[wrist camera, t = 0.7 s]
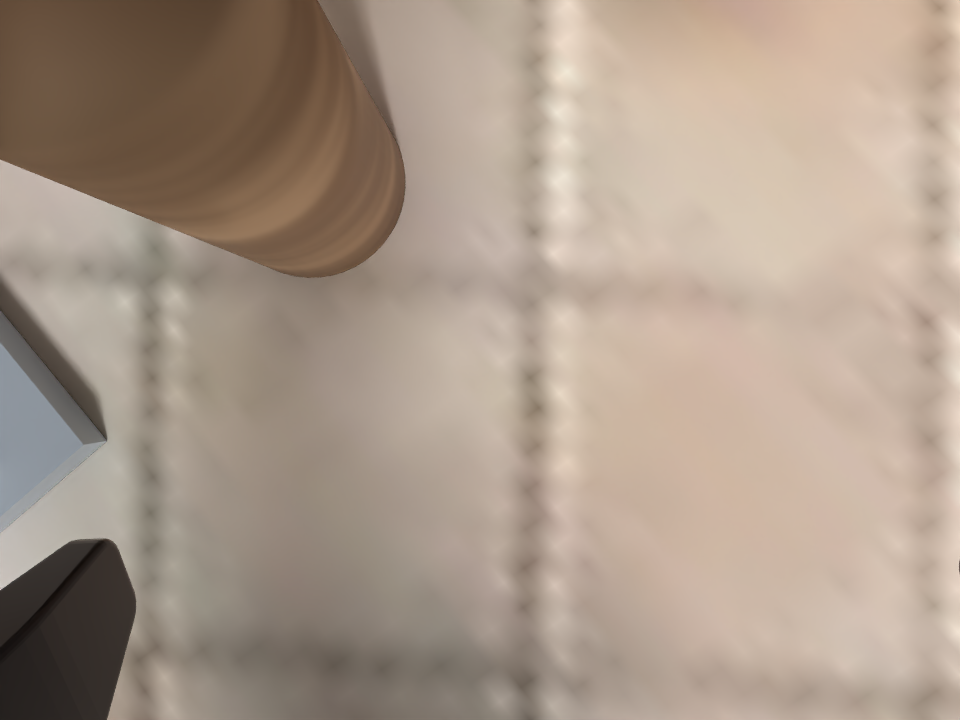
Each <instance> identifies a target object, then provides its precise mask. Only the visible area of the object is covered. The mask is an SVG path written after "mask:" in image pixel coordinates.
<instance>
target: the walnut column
mask: <svg viewBox="0 0 960 720" xmlns="http://www.w3.org/2000/svg"><path fill="white" fill-rule="evenodd" d="M0 159H1V160H3V161H6V162H8V163H10V164H13V165H15V166H18V167H20V168H23V169H25V170H28V171H30V172H33V173H35V174H38V175H40V176H43V177H45V178H48V179H50V180H53V181H55V182H58V183H60V184H63V185H65V186H68V187H70V188H73V189H75V190H78V191H80V192H83V193H85V194H88V195H90V196H93V197H95V198H97V199H100V200H102V201H105V202H107V203H110V204H112V205H115V206H117V207H120V208H122V209H125V210H127V211H130V212H132V213H135V214H137V215H140V216H142V217H145V218H147V219H150V220H152V221H155V222H157V223H160V224H162V225H165V226H167V227H170V228H172V229H175V230H177V231H180V232H182V233H184V234H187V235H189V236H192V237H194V238H197V239H199V240H202V241H204V242H207V243H209V244H212V245H214V246H217V247H219V248H222V249H224V250H227V251H229V252H232V253H234V254H237V255H239V256H242V257H244V258H247V259H249V260H252V261H254V262H257V263H259V264H262V265H264V266H267V267H269V268H272V269H274V270H277V271H279V272H282V273H284V274H288V275H293V276H298V277H307V278H311V277H325V276H331V275H335V274H338V273H342V272H345V271H347V270H349V269H351V268H354V267H355V266H357V265H359V264H360V263H362V262H364V261H365V260H367V259H368V258H369V257H370V256H371V255H373V254H374V253H375V252H376V251H377V250H378V249H379V248H380V247H381V246H382V245H383V244H384V242H385V241H386V240H387V238H388V237H389V235H390V234H391V232H392V230H393V229H394V227H395V225H396V223H397V221H398V218H399V215H400V213H401V210H402V206H403V202H404V195H405V171H404V164H403V160H402V157H401V153H400V150H399V148H398V146H397V143H396V141H395V139H394V137H393V135H392V134H391V132H390V130H389V128H388V126H387V125H386V123H385V121H384V119H383V117H382V116H381V114H380V112H379V110H378V109H377V107H376V105H375V103H374V101H373V100H372V98H371V96H370V94H369V92H368V91H367V89H366V87H365V85H364V83H363V82H362V80H361V78H360V76H359V74H358V73H357V71H356V69H355V67H354V65H353V64H352V62H351V60H350V58H349V57H348V55H347V53H346V51H345V49H344V48H343V46H342V44H341V42H340V40H339V39H338V37H337V35H336V33H335V31H334V30H333V28H332V26H331V24H330V22H329V21H328V19H327V17H326V15H325V13H324V12H323V10H322V8H321V6H320V5H319V3H318V1H317V0H0Z"/></svg>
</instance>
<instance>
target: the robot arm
mask: <svg viewBox="0 0 960 720" xmlns="http://www.w3.org/2000/svg"><path fill="white" fill-rule="evenodd" d="M959 572H960V562H959ZM135 613H136V597H135V592H134V589H133V587H132V584H131V581H130V579H129V576H128V573H127V571H126V568H125V566H124V563H123V560H122V558H121V555H120V552H119V550H118V548H117V546H116V544H115V543H114V542H113V541H111V540H109V539H104V538H103V539H80V540H74V541H71V542H69V543H67V544H66V545H64V546H63V547H61V548H60V549H58V550H57V551H56V552H54V553H53V554H51V555H50V556H48V557H47V558H46V559H44V560H43V561H41V562H40V563H38V564H37V565H36V566H34V567H33V568H31V569H30V570H28V571H27V572H26V573H24V574H23V575H21V576H20V577H19V578H17V579H16V580H14V581H13V582H11V583H10V584H9V585H7V586H6V587H4V588H3V589H1V590H0V720H107V718H108V714H109V711H110V707H111V703H112V700H113V696H114V692H115V688H116V685H117V681H118V677H119V674H120V670H121V666H122V663H123V659H124V655H125V652H126V648H127V644H128V640H129V637H130V633H131V629H132V626H133V622H134V618H135Z"/></svg>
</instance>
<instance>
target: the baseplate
mask: <svg viewBox="0 0 960 720" xmlns="http://www.w3.org/2000/svg"><path fill="white" fill-rule="evenodd" d="M106 441H107V440H106V439H105V438H104V436H103V435H102V434H101V433H100V431H99V430H98V429H97V428H96V427H95V425H94V424H93V423H92V422H91V420H90V419H89V418H88V417H87V416H86V414H85V413H84V412H83V411H82V409H81V408H80V407H79V406H78V405H77V403H76V402H75V401H74V400H73V398H72V397H71V396H70V395H69V394H68V392H67V391H66V390H65V389H64V387H63V386H62V385H61V384H60V382H59V381H58V380H57V379H56V378H55V376H54V375H53V374H52V373H51V371H50V370H49V369H48V368H47V367H46V365H45V364H44V363H43V362H42V360H41V359H40V358H39V357H38V356H37V354H36V353H35V352H34V351H33V349H32V348H31V347H30V346H29V345H28V343H27V342H26V341H25V340H24V338H23V337H22V336H21V335H20V334H19V332H18V331H17V330H16V329H15V327H14V326H13V325H12V324H11V323H10V321H9V320H8V319H7V318H6V316H5V315H4V314H3V313H2V312H1V310H0V533H1V532H2V531H3V530H4V529H5V528H6V527H8V526H9V525H10V524H11V523H12V522H13V521H15V520H16V519H17V518H18V517H19V516H20V515H22V514H23V513H24V512H25V511H26V510H27V509H29V508H30V507H31V506H32V505H33V504H34V503H35V502H37V501H38V500H39V499H40V498H41V497H42V496H44V495H45V494H46V493H47V492H48V491H49V490H51V489H52V488H53V487H54V486H55V485H56V484H58V483H59V482H60V481H61V480H62V479H63V478H65V477H66V476H67V475H68V474H69V473H70V472H72V471H73V470H74V469H75V468H76V467H77V466H78V465H80V464H81V463H82V462H83V461H84V460H85V459H87V458H88V457H89V456H90V455H91V454H92V453H94V452H95V451H96V450H97V449H98V448H99V447H101V446H102V445H103V444H104V443H105V442H106Z"/></svg>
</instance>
